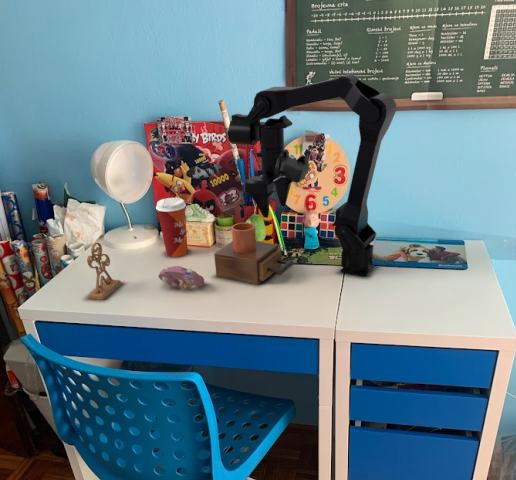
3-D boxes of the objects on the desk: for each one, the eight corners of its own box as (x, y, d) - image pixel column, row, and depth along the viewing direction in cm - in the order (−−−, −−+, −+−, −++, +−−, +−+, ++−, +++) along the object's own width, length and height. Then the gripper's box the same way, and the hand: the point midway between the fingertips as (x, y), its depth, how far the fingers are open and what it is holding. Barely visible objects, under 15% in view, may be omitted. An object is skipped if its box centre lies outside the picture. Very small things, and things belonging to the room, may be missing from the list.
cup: (260, 246, 142) (259, 224, 139) (248, 254, 138) (247, 232, 135) (240, 242, 144) (239, 221, 141) (229, 251, 140) (227, 229, 137)
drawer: (297, 268, 142) (296, 252, 140) (279, 284, 135) (278, 267, 133) (245, 259, 148) (244, 243, 146) (225, 274, 142) (224, 257, 139)
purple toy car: (163, 292, 140) (153, 273, 135) (170, 277, 142) (160, 258, 137) (200, 296, 137) (192, 278, 131) (207, 281, 139) (198, 262, 134)
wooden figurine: (107, 282, 143) (97, 235, 137) (121, 283, 142) (112, 236, 136) (88, 298, 136) (77, 250, 130) (103, 300, 135) (92, 251, 129)
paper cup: (186, 258, 153) (179, 206, 146) (158, 258, 155) (150, 206, 147) (195, 247, 160) (189, 196, 152) (168, 246, 161) (161, 196, 154)
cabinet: (278, 267, 145) (278, 244, 142) (257, 284, 137) (256, 260, 134) (238, 260, 150) (237, 238, 147) (216, 276, 143) (214, 253, 139)
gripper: (284, 158, 127) (287, 228, 135) (320, 139, 140) (320, 203, 148) (240, 155, 131) (245, 222, 140) (278, 137, 145) (280, 199, 153)
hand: (274, 211), depth 145 cm, fingers open, 9 cm apart
